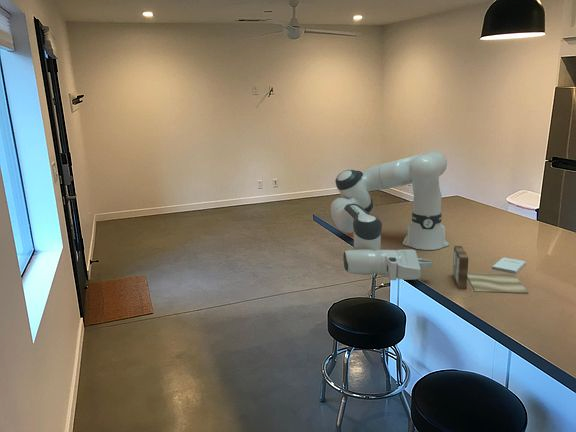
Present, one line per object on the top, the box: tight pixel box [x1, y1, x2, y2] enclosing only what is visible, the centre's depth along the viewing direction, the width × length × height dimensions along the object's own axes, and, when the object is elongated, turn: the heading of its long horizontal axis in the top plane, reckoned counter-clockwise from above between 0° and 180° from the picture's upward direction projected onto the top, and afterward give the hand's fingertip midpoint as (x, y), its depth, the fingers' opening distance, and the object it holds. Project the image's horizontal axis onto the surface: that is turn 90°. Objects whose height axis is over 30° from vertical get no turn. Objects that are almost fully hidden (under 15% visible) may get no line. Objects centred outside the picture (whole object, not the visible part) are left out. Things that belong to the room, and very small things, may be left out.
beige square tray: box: [467, 272, 529, 295], centre depth 157 cm, size 16×16×1 cm
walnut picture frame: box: [452, 245, 469, 290], centre depth 158 cm, size 12×3×11 cm, turn 170°
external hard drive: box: [491, 257, 527, 275], centre depth 172 cm, size 2×8×12 cm
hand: (432, 263), depth 159 cm, fingers closed
